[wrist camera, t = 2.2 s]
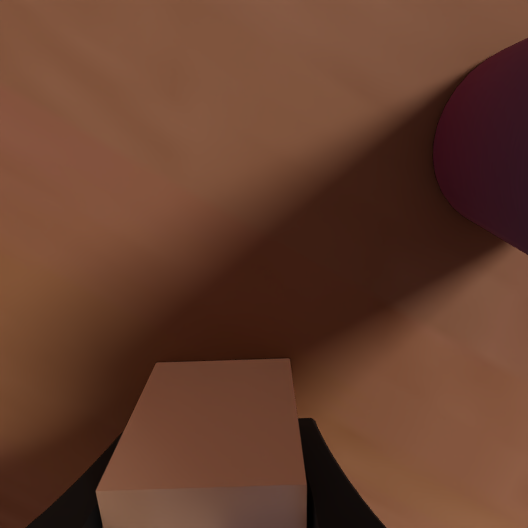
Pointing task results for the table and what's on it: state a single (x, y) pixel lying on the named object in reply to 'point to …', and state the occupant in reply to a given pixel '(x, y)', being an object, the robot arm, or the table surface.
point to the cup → (488, 146)
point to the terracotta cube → (209, 450)
